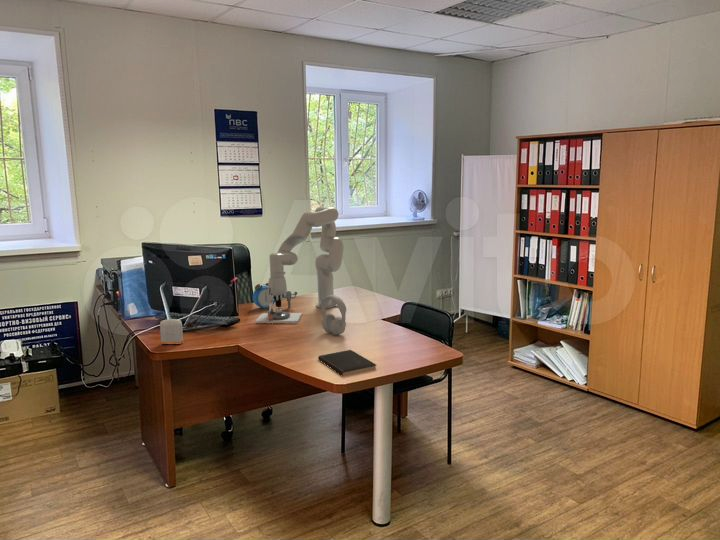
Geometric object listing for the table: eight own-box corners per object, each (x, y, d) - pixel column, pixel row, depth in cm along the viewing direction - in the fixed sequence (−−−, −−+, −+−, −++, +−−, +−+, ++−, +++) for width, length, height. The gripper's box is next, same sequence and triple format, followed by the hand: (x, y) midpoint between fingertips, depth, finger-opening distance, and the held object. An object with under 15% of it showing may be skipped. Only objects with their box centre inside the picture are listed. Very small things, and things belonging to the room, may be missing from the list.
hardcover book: (350, 354, 247) (350, 349, 246) (376, 370, 227) (376, 364, 226) (318, 361, 239) (317, 355, 239) (342, 377, 219) (341, 372, 219)
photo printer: (184, 342, 268) (182, 317, 266) (182, 345, 264) (180, 319, 262) (162, 343, 268) (160, 318, 266) (160, 345, 264) (158, 320, 261)
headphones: (351, 336, 272) (350, 296, 268) (338, 339, 267) (337, 299, 264) (329, 328, 286) (328, 291, 282) (317, 331, 281) (315, 293, 278)
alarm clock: (257, 310, 328) (255, 285, 326) (252, 308, 333) (251, 284, 331) (277, 307, 336) (275, 282, 333) (272, 305, 341) (271, 281, 338)
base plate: (302, 315, 314) (301, 307, 314) (297, 323, 298) (297, 315, 297) (262, 315, 315) (261, 308, 315) (255, 324, 299) (255, 315, 298)
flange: (294, 316, 306) (293, 305, 305) (276, 320, 298) (275, 309, 297) (278, 311, 317) (278, 301, 316) (260, 315, 309) (260, 304, 308)
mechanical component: (297, 308, 331) (296, 292, 330) (280, 308, 332) (279, 292, 330) (298, 307, 334) (297, 291, 333) (281, 307, 335) (280, 291, 333)
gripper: (284, 272, 319) (285, 303, 322) (262, 275, 309) (263, 307, 312) (291, 274, 313) (293, 305, 316) (269, 277, 304) (270, 310, 307)
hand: (278, 306), depth 314 cm, fingers closed
